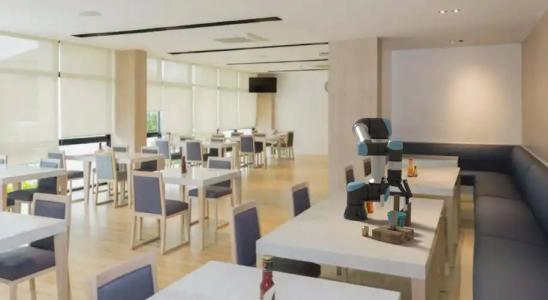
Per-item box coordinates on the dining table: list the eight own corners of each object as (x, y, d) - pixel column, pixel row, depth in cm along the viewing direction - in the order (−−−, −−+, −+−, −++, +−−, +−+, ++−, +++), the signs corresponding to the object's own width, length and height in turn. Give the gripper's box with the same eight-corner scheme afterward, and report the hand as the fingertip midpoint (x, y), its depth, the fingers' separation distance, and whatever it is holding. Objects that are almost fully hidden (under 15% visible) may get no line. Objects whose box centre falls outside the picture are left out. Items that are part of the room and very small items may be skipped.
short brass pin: (364, 234, 249) (364, 225, 249) (369, 235, 246) (369, 226, 246) (360, 235, 246) (360, 226, 246) (366, 237, 244) (366, 227, 243)
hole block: (386, 233, 252) (387, 224, 251) (413, 238, 241) (413, 229, 241) (371, 238, 240) (372, 229, 240) (399, 244, 229) (399, 235, 229)
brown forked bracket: (408, 226, 268) (409, 196, 267) (391, 223, 275) (392, 194, 274) (410, 225, 271) (411, 195, 269) (394, 222, 278) (395, 193, 276)
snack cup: (403, 234, 248) (404, 216, 248) (384, 232, 253) (384, 215, 252) (407, 228, 263) (408, 211, 262) (389, 226, 267) (389, 209, 266)
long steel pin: (391, 237, 243) (392, 210, 242) (397, 238, 241) (398, 211, 240) (388, 238, 240) (388, 211, 239) (394, 240, 238) (394, 212, 237)
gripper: (370, 167, 243) (369, 206, 245) (413, 172, 227) (412, 213, 228) (377, 166, 249) (376, 203, 251) (420, 170, 232) (418, 210, 234)
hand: (393, 208), depth 240 cm, fingers open, 13 cm apart
